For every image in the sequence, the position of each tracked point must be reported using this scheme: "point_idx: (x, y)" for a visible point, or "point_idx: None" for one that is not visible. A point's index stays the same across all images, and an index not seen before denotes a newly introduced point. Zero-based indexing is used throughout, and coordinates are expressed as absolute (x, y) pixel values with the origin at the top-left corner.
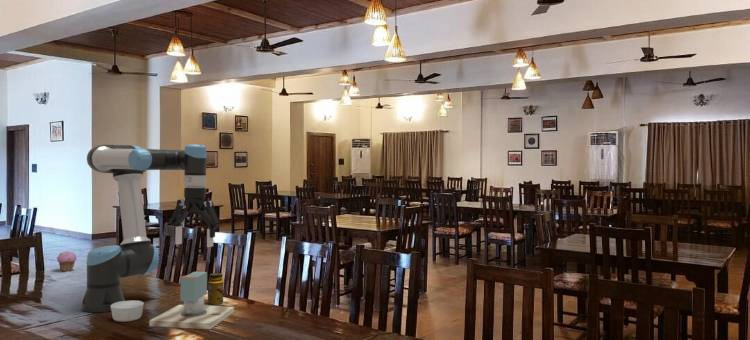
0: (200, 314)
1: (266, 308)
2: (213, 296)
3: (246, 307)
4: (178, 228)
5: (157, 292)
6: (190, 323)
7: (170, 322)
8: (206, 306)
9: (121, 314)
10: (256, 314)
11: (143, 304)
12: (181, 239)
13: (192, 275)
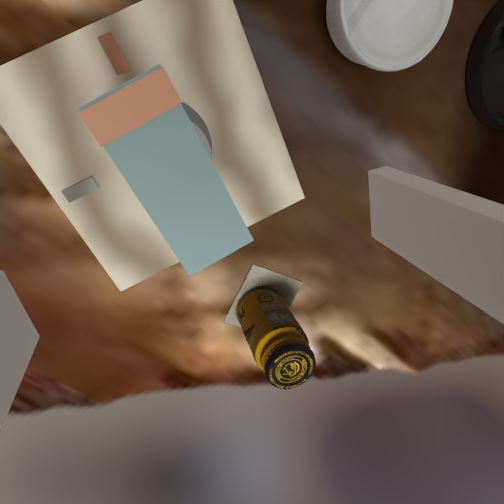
0: None
1: (76, 372)
2: (254, 305)
3: (140, 340)
4: (497, 246)
5: None
6: (52, 42)
7: (135, 4)
8: None
9: None
10: (35, 313)
11: (349, 46)
12: (394, 245)
13: (175, 168)
